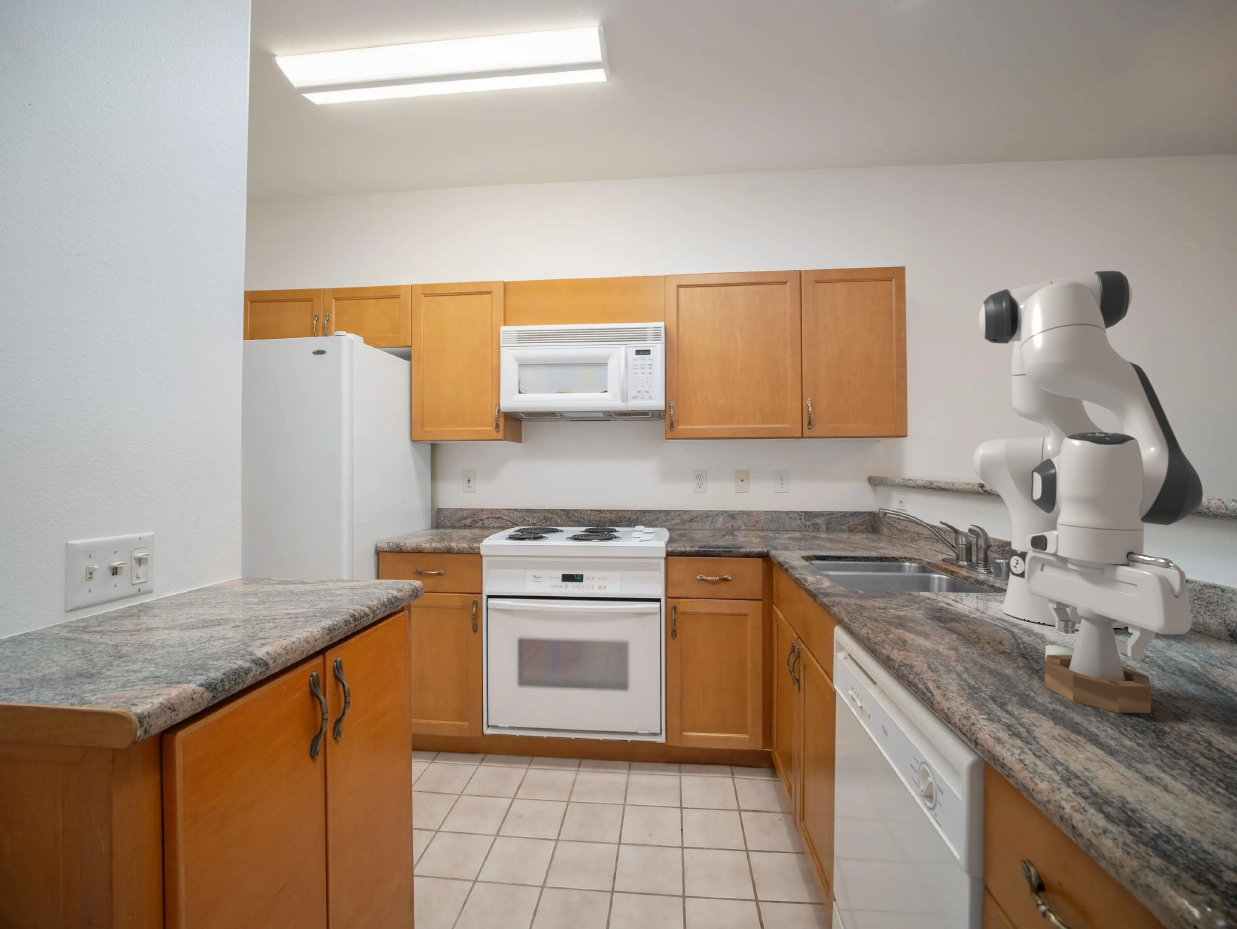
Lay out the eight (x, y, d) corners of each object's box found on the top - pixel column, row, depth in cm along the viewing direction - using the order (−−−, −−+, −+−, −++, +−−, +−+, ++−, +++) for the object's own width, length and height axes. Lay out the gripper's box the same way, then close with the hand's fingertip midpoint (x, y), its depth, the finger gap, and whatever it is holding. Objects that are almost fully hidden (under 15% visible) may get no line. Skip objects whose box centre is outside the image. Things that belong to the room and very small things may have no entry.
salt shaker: (1137, 706, 66) (1139, 609, 66) (1087, 701, 67) (1089, 606, 67) (1104, 686, 72) (1105, 598, 72) (1058, 682, 73) (1060, 595, 73)
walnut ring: (1094, 678, 75) (1094, 655, 75) (1173, 713, 64) (1174, 686, 64) (1026, 677, 75) (1026, 654, 75) (1095, 712, 64) (1095, 685, 64)
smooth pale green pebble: (1064, 663, 81) (1064, 645, 81) (1090, 674, 77) (1090, 655, 77) (1037, 663, 81) (1038, 644, 81) (1062, 674, 76) (1063, 655, 76)
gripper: (1209, 561, 59) (1207, 676, 59) (1054, 535, 80) (1053, 620, 80) (1158, 561, 59) (1156, 676, 59) (1016, 535, 80) (1015, 620, 80)
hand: (1096, 643), depth 70 cm, fingers open, 8 cm apart
